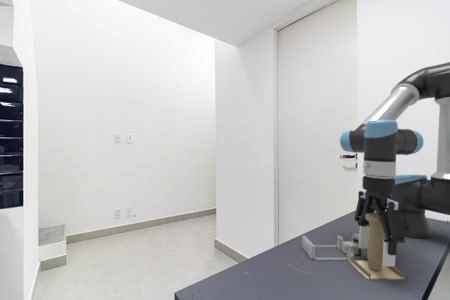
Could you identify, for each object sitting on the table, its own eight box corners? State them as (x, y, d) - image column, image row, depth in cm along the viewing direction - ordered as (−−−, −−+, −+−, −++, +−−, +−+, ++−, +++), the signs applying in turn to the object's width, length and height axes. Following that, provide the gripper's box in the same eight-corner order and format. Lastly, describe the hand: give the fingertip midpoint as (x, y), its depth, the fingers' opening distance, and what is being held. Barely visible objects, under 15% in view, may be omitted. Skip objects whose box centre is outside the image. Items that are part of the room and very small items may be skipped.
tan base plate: (380, 261, 71) (381, 256, 71) (404, 279, 62) (405, 273, 62) (348, 261, 70) (348, 256, 70) (367, 279, 61) (367, 273, 61)
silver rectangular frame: (338, 246, 80) (339, 235, 80) (354, 260, 71) (355, 247, 71) (301, 246, 80) (301, 235, 80) (312, 260, 71) (312, 247, 71)
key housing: (364, 248, 80) (365, 233, 80) (379, 258, 73) (380, 242, 72) (350, 248, 80) (351, 233, 79) (363, 258, 72) (364, 242, 72)
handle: (390, 270, 65) (393, 216, 65) (375, 275, 62) (378, 219, 62) (373, 262, 70) (376, 212, 69) (359, 266, 67) (361, 214, 66)
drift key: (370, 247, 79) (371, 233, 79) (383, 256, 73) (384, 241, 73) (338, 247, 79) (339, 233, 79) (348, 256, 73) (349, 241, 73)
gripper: (343, 171, 76) (341, 239, 77) (396, 183, 54) (391, 279, 55) (366, 171, 76) (363, 239, 77) (427, 183, 54) (423, 279, 55)
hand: (375, 256), depth 66 cm, fingers open, 9 cm apart
